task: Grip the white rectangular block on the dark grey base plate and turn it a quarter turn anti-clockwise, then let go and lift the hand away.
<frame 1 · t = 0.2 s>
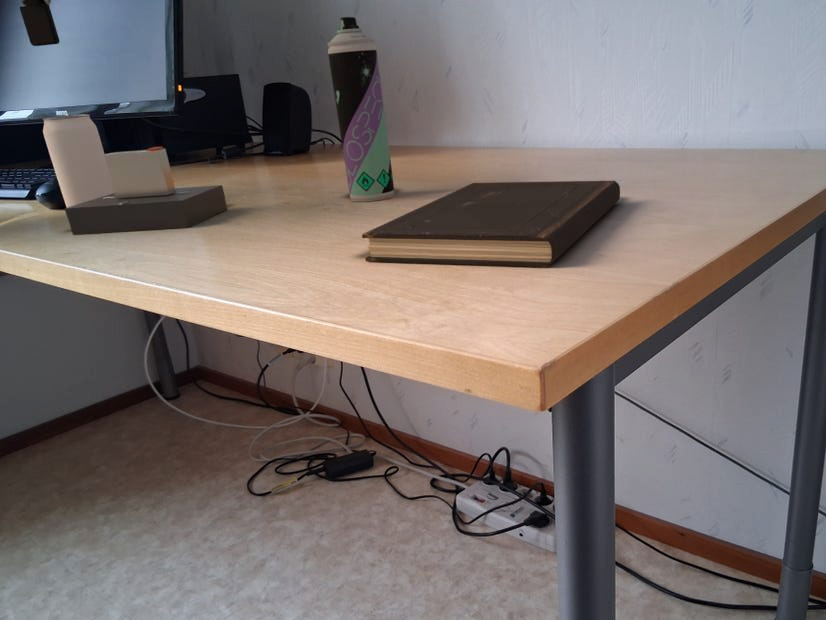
hand: (15, 44, 74), 20 cm above the table, tool pointing down, fingers open, 9 cm apart
spray can: (373, 199, 86), on the table
white rectangular block: (140, 172, 80), point 6 cm above the table, hinge at 0.0°
hardcover book: (506, 231, 63), on the table
dark grey base plate: (153, 221, 82), on the table
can: (93, 208, 97), on the table
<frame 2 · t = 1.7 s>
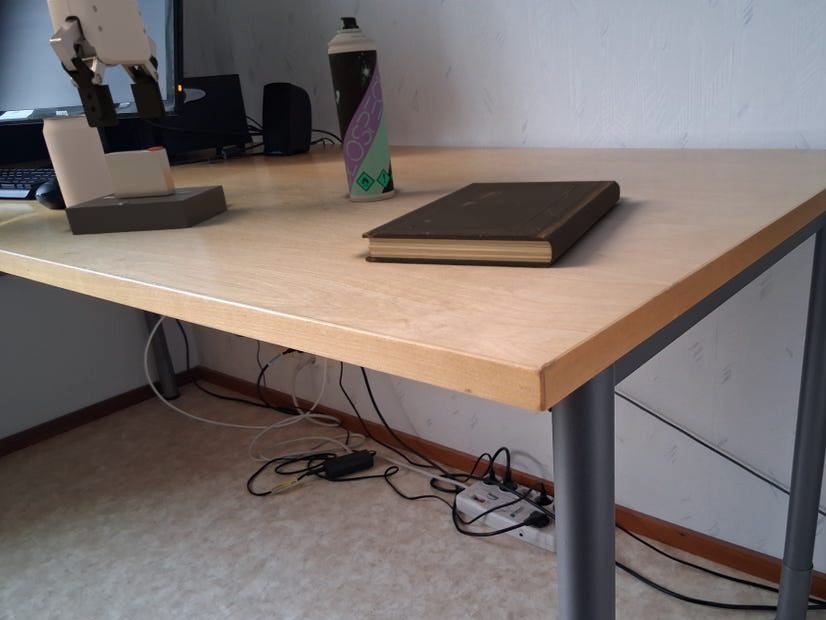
hand: (130, 122, 78), 11 cm above the table, tool pointing down, fingers open, 9 cm apart
nothing on the table moved.
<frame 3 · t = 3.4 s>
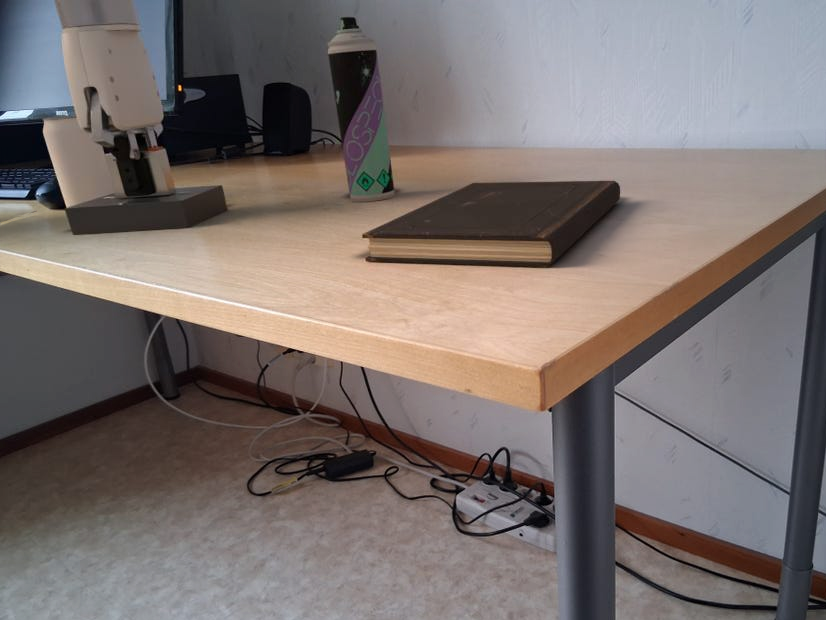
hand: (145, 192, 81), 3 cm above the table, tool pointing down, fingers closed on white rectangular block, 2 cm apart
white rectangular block: (140, 172, 80), point 6 cm above the table, hinge at 0.0°, touching gripper
everything else where it was.
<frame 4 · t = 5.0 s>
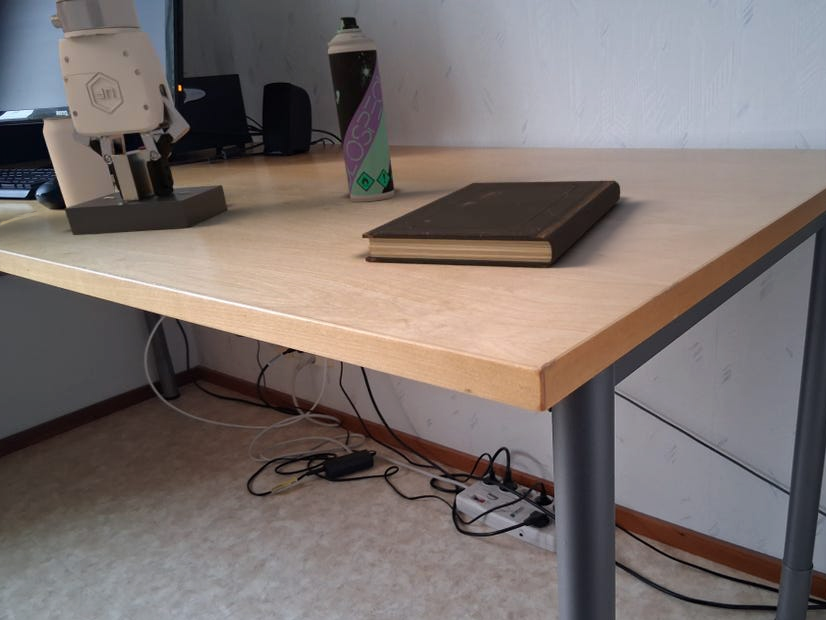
hand: (147, 194, 81), 3 cm above the table, tool pointing down, fingers open, 3 cm apart
white rectangular block: (140, 172, 80), point 6 cm above the table, hinge at 90.0°
everything else where it was.
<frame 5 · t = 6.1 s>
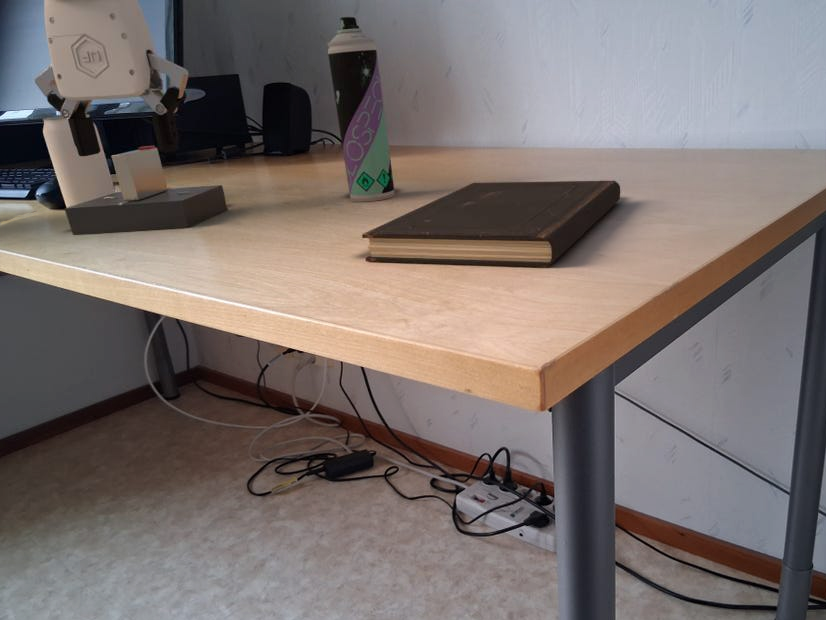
hand: (129, 153, 79), 8 cm above the table, tool pointing down, fingers open, 9 cm apart
nothing on the table moved.
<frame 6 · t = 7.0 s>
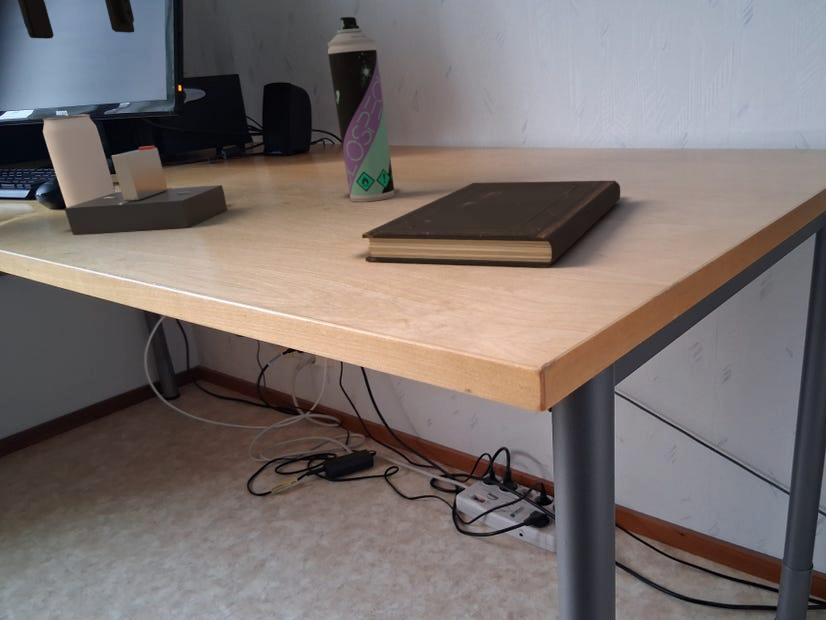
hand: (82, 35, 76), 20 cm above the table, tool pointing down, fingers open, 9 cm apart
nothing on the table moved.
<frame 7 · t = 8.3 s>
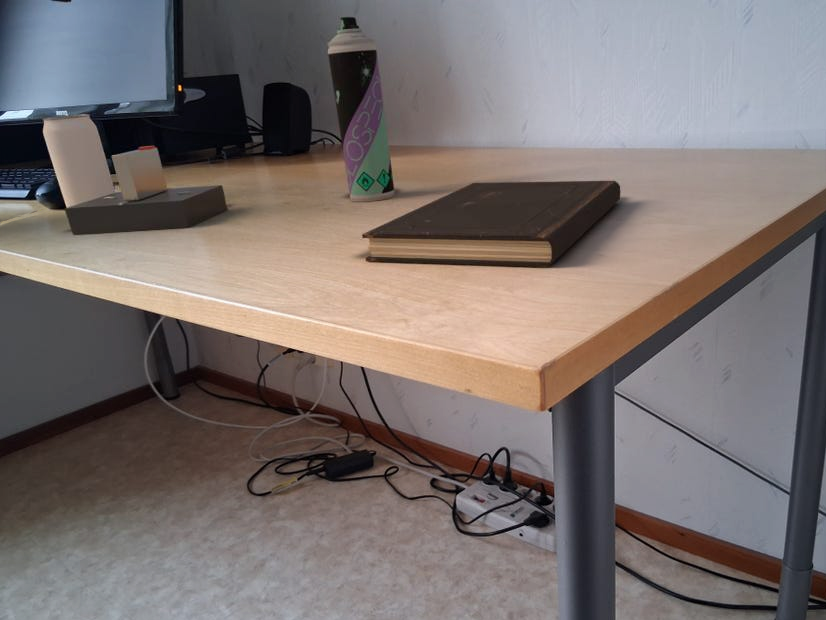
hand: (21, 5, 79), 24 cm above the table, tool pointing down, fingers open, 9 cm apart
nothing on the table moved.
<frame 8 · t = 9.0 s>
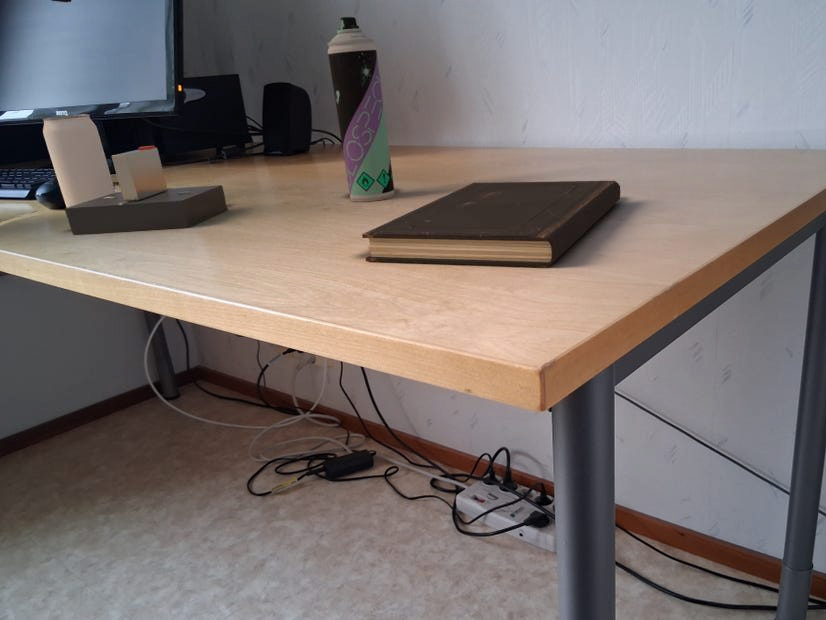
hand: (21, 5, 79), 24 cm above the table, tool pointing down, fingers open, 9 cm apart
nothing on the table moved.
at the end: white rectangular block at +90° (first picture: +0°); the gripper is holding nothing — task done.
